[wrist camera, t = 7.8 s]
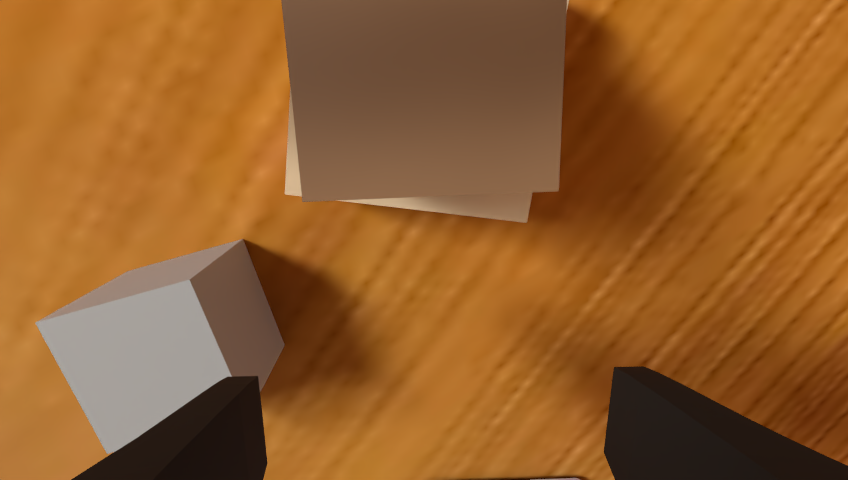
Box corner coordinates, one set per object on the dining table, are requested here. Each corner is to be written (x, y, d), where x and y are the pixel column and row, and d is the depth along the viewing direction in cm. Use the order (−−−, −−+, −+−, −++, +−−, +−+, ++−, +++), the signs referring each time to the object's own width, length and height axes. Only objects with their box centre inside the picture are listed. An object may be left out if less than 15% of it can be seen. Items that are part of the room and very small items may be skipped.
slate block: (285, 344, 20) (248, 415, 15) (177, 373, 20) (106, 453, 15) (243, 238, 19) (189, 279, 14) (128, 270, 19) (35, 322, 14)
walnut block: (497, 162, 15) (558, 191, 9) (341, 168, 15) (302, 202, 9) (499, -10, 14) (571, -104, 8) (328, -5, 13) (271, -99, 8)
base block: (501, 202, 19) (526, 222, 15) (309, 178, 19) (284, 194, 15) (538, -7, 17) (577, -44, 13) (323, -41, 17) (299, -89, 13)
